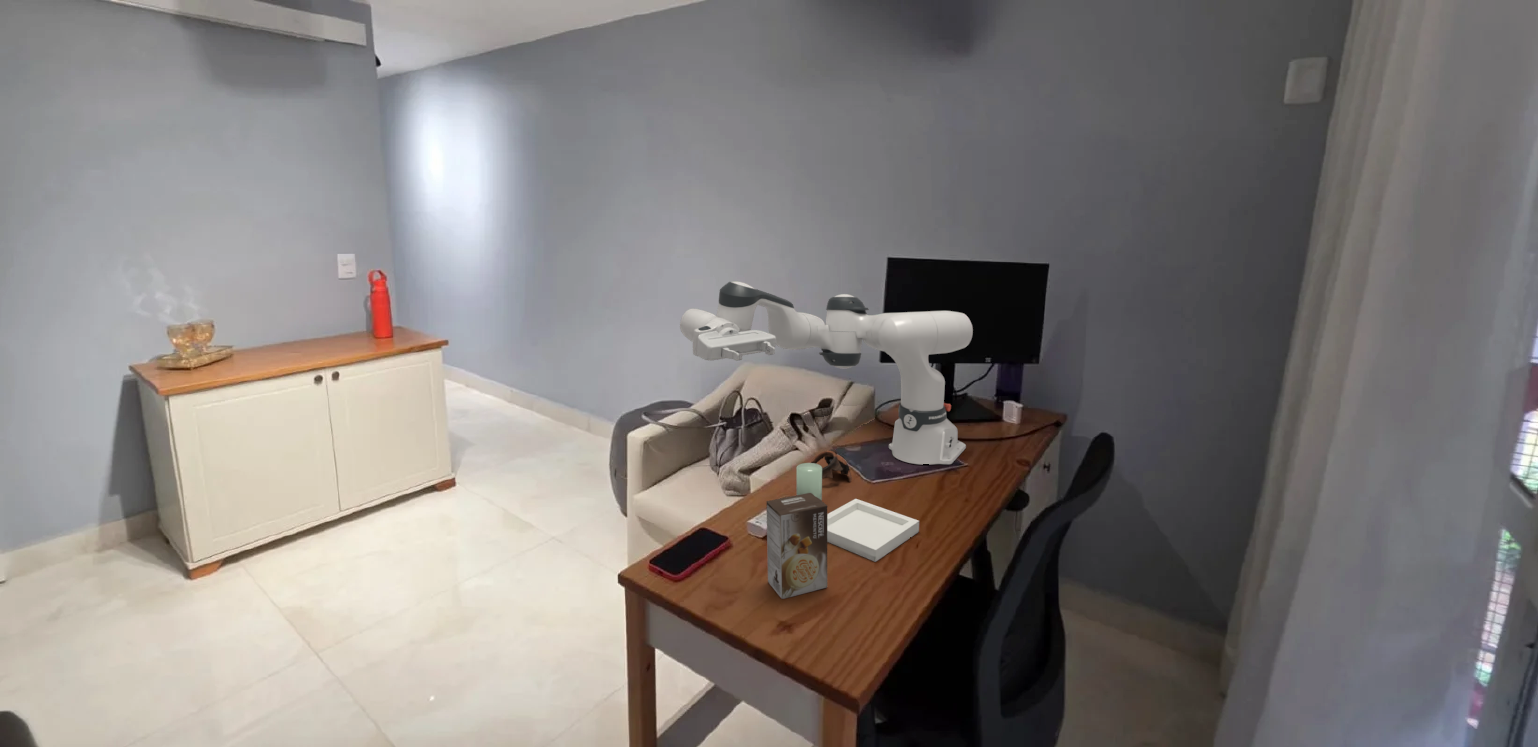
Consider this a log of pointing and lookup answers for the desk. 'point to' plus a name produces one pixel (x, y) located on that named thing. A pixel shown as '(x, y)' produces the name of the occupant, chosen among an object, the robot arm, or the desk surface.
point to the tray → (868, 529)
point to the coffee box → (797, 544)
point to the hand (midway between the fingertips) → (756, 354)
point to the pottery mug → (833, 464)
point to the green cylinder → (809, 479)
